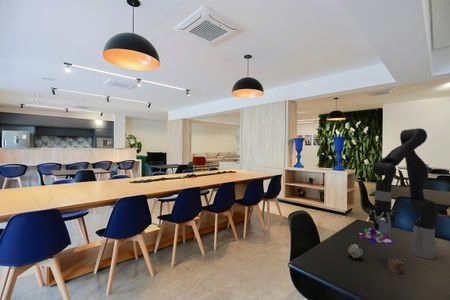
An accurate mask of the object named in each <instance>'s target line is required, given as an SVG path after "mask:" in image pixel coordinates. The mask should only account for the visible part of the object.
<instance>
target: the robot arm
mask: <svg viewBox="0 0 450 300" xmlns="http://www.w3.org/2000/svg"><path fill="white" fill-rule="evenodd" d="M399 139H400V144H401V145H399V146H396V147H395V148H393V149H392V150H391V151H390V152H389V153H388V154H387V155H386V156H385V157H382V158H381V159H379V160H378V161H376V162H375V163H374V164H373V165H372V172H373V173H374V174H375V175H377V176H384V177H383V179H377V180H376V181H375V192H374V209H372V210H371V209H370V210H368V214H369V220H370V222H373V227H374V228H375V229H376V231H377V230H378V229H379V220H382V219H383V218H384V219H383V220H384V221H386V222H389V223H391V224H392V223H393V224H394V223H395V220H396V216H397V212H396V211H394V210H391V209H392V203H393V202H392V201H393V200H392V199H393V198H392V196H393V195H392V185H393V182H394V179H395V176H396V174H397V168H396V167H397V166H398V165H400V164H401V162H403V160H404V159H405V165H406V174H407V178H408V184H409V186H408V187H409V196H410V197H409V198H410V201H409V202H410V207H411V210H412V211H413V212H414V213H416V214H419V215H420V218H419V219H415V220H413V239H412V241H413V244H412V245H413V246H412V247H413V248H412V250H413V252H412V253H413V255H414V256H416V257H419V258H422V259H426V260H434V259H437V241H436V235H435V234H436V226H437V223H438V216H439V215H438V214H439V208H438V207H439V206H438V205H437V203H436V202H434V201H433V200H429V199H425V194H424V188H425V186H426V185H427V182H428V180H429V171H428V170H429V169H428V166H427V164H426V162H424V160H423V159H421V157H420V156H419V155H418V154H417V152H416V151H415V150H416V149H418V147H420V146H422V145H423V144H424V143H425V142H426V140H427V139H428V133H427V131H426V130H425V129H423V128H419V127H417V128H411V129H404V130H402V131H401V132H400V135H399Z"/></svg>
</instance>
